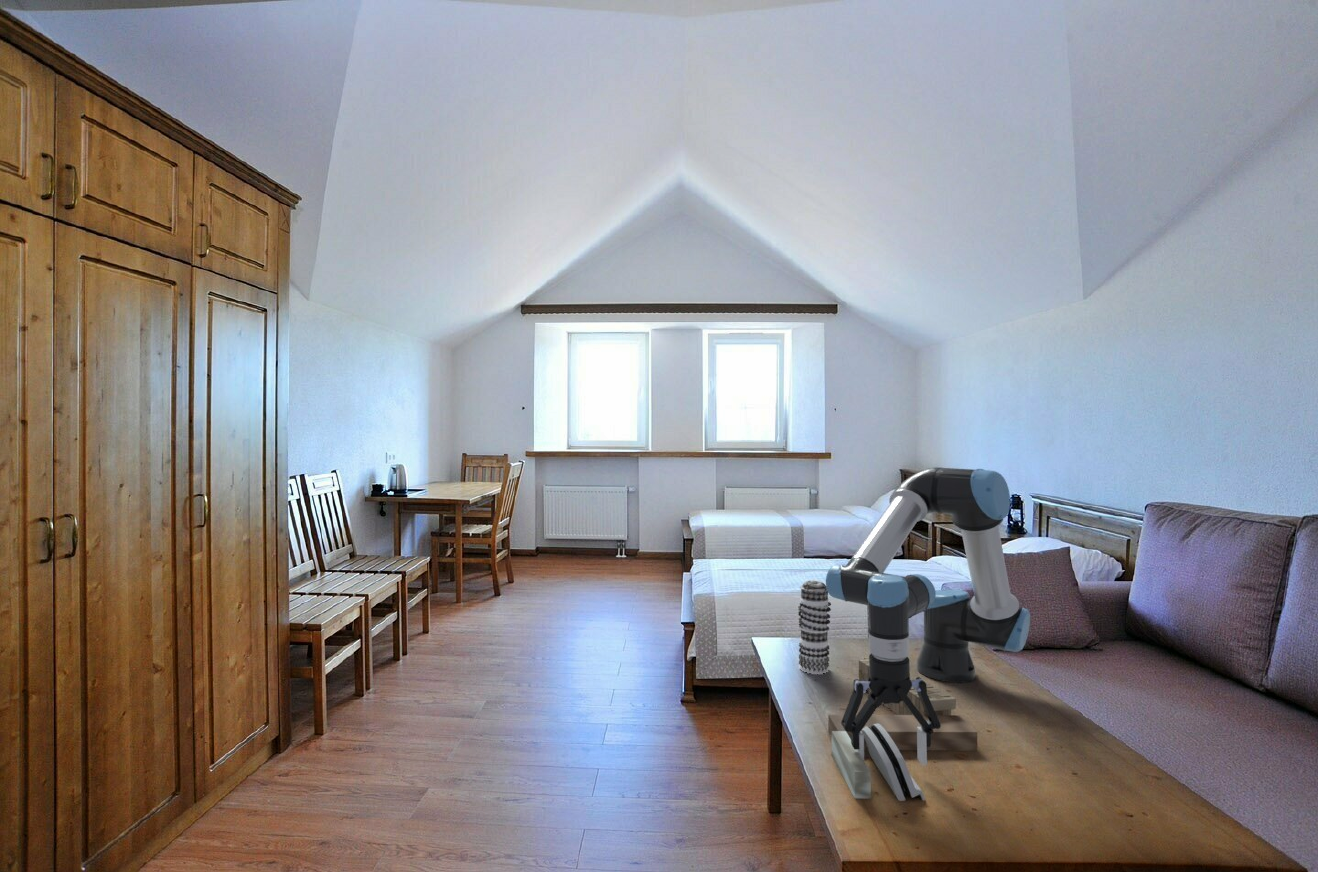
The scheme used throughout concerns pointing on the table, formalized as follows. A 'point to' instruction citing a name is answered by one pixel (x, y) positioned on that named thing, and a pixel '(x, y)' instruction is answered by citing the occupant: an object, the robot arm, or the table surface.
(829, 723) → the board
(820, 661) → the decorative candle
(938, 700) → the block tower
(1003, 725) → the table surface
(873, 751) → the grey arched slotted casing
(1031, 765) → the table surface
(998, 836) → the table surface
